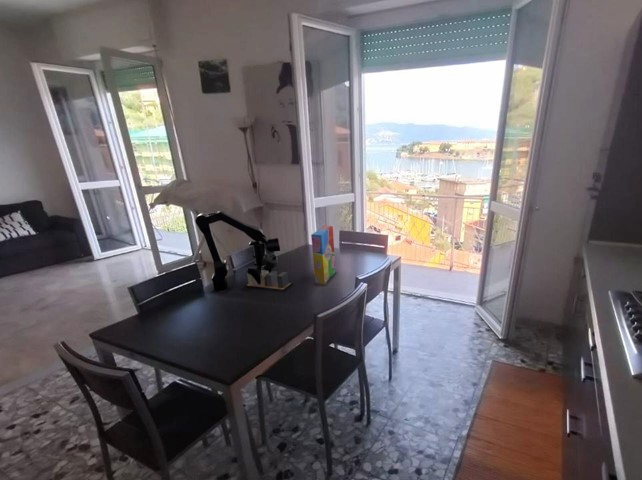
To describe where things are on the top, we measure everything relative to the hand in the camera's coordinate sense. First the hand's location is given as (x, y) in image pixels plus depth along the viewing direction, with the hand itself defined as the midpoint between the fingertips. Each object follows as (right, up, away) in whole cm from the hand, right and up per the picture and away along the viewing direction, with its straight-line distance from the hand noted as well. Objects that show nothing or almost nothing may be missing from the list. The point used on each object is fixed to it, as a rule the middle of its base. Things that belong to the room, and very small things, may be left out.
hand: (264, 281), depth 189 cm
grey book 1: (+5, -2, -1) cm, 5 cm away
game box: (+32, +2, +9) cm, 33 cm away
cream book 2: (-3, -1, +2) cm, 4 cm away
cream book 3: (0, -1, +1) cm, 2 cm away
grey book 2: (+11, -3, -3) cm, 11 cm away
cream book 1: (-6, -1, +2) cm, 7 cm away
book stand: (+2, -3, 0) cm, 4 cm away
